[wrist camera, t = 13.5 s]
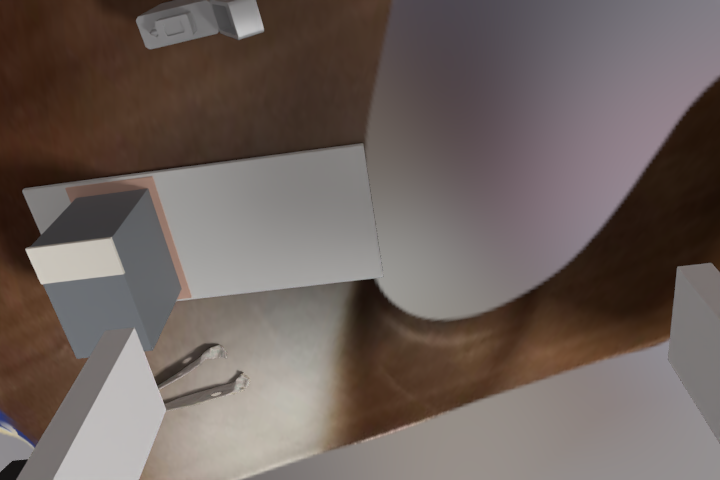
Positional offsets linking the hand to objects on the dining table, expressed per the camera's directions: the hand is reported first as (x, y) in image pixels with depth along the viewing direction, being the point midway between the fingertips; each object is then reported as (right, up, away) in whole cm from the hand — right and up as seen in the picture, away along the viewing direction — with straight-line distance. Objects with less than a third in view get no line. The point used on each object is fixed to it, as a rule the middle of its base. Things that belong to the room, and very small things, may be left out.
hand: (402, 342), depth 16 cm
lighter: (-9, +16, +22) cm, 29 cm away
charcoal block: (-17, +2, +29) cm, 34 cm away
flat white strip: (-11, +3, +29) cm, 31 cm away
